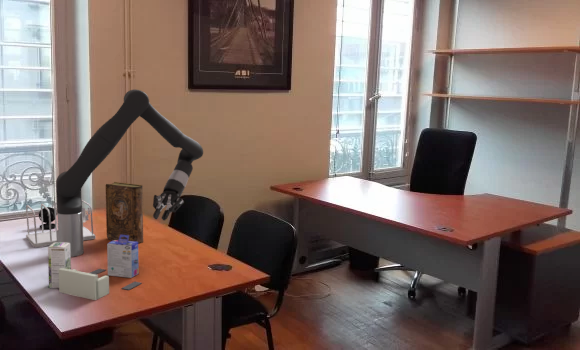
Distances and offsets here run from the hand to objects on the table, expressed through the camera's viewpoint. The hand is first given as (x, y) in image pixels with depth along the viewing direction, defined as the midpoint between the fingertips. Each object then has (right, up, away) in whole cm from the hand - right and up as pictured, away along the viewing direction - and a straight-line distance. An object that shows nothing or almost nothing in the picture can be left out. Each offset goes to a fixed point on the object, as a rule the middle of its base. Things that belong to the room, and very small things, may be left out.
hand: (159, 218), depth 219 cm
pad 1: (-19, -19, -16) cm, 31 cm away
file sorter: (-49, -11, +25) cm, 56 cm away
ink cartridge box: (-9, -19, -17) cm, 27 cm away
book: (-20, -12, +25) cm, 34 cm away
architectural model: (-44, -6, +55) cm, 71 cm away
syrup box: (-27, -21, -29) cm, 45 cm away
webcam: (-62, -8, +41) cm, 75 cm away
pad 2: (-3, -21, -28) cm, 35 cm away
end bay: (-16, -22, -35) cm, 44 cm away
